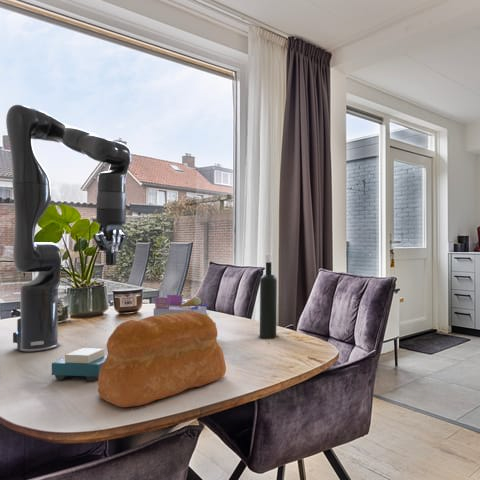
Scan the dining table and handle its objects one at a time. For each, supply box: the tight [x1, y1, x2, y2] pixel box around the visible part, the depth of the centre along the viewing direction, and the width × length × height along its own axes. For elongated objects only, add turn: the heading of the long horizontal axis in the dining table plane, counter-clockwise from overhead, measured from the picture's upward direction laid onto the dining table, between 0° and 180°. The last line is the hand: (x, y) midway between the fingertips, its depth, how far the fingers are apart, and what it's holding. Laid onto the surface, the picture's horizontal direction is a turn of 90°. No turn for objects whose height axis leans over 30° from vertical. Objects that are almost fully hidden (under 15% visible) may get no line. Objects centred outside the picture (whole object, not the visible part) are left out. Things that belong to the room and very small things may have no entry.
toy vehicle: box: [153, 294, 217, 326], centre depth 140 cm, size 9×20×15 cm, turn 78°
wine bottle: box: [259, 252, 278, 340], centre depth 146 cm, size 6×6×30 cm
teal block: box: [51, 347, 107, 382], centre depth 104 cm, size 12×6×7 cm
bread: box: [97, 311, 227, 408], centre depth 97 cm, size 16×26×17 cm, turn 144°
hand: (111, 265), depth 122 cm, fingers closed
